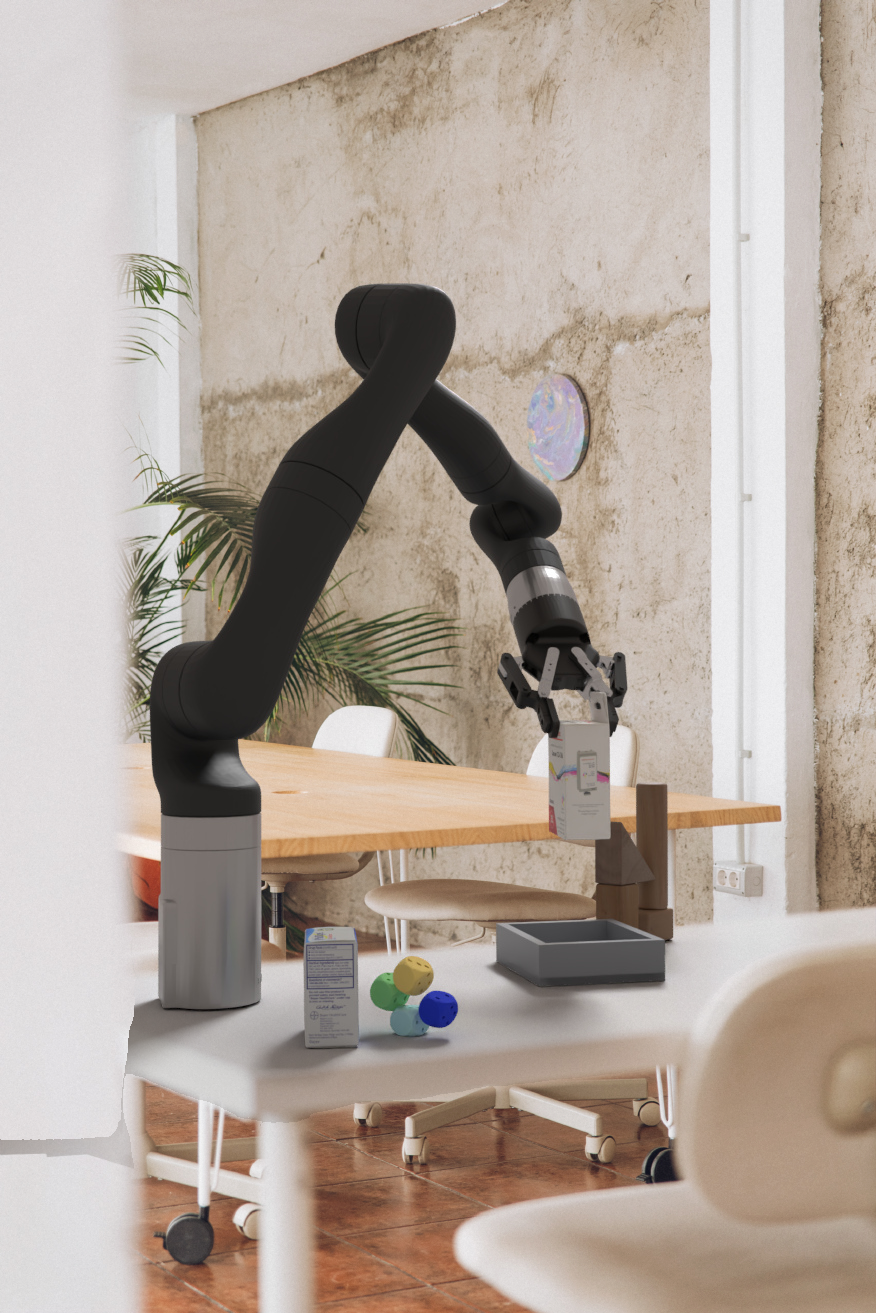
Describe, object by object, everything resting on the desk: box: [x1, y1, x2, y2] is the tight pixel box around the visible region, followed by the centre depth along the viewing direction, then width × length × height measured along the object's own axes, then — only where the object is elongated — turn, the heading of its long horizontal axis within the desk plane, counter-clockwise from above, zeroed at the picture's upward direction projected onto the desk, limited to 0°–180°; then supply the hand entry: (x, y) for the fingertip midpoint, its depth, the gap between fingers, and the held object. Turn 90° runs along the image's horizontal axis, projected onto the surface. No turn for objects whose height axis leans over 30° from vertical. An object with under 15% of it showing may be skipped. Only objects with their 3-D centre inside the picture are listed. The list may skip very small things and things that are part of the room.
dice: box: [369, 955, 459, 1037], centre depth 133 cm, size 8×3×6 cm, turn 53°
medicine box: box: [302, 926, 360, 1049], centre depth 132 cm, size 8×4×9 cm, turn 5°
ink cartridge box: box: [547, 692, 611, 841], centre depth 163 cm, size 9×5×15 cm, turn 8°
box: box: [495, 918, 666, 988], centre depth 163 cm, size 13×15×4 cm
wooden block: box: [594, 781, 674, 941], centre depth 181 cm, size 4×11×18 cm, turn 140°
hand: (582, 731), depth 161 cm, fingers closed on ink cartridge box, 5 cm apart
